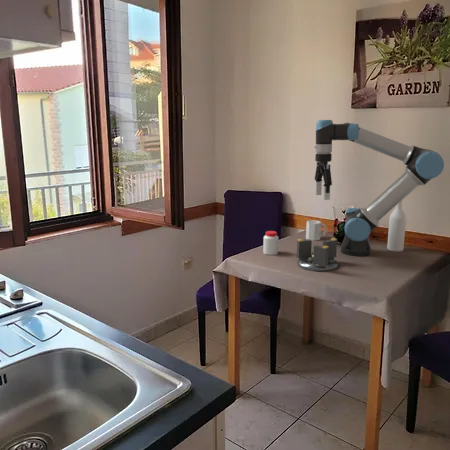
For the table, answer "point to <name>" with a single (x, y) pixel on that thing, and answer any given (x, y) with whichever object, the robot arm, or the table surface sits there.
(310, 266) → the plate
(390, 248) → the bottle
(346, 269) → the table surface
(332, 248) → the knob
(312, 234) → the mug
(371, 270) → the table surface
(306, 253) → the knob
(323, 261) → the leg
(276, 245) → the pill bottle
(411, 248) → the table surface
